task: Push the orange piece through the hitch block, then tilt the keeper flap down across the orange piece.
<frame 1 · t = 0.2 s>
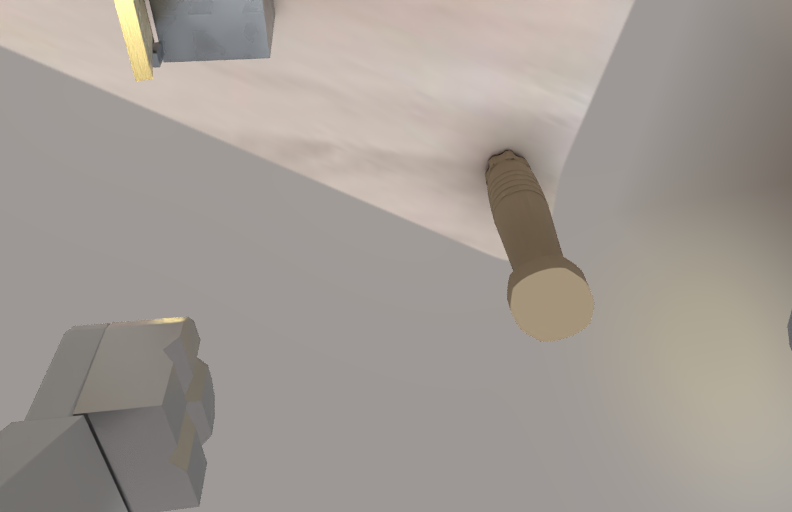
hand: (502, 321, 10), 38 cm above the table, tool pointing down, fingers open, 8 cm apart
keeper flap: (132, 6, 36), point 9 cm above the table, hinge at 100.0°
handle: (504, 165, 55), on the table
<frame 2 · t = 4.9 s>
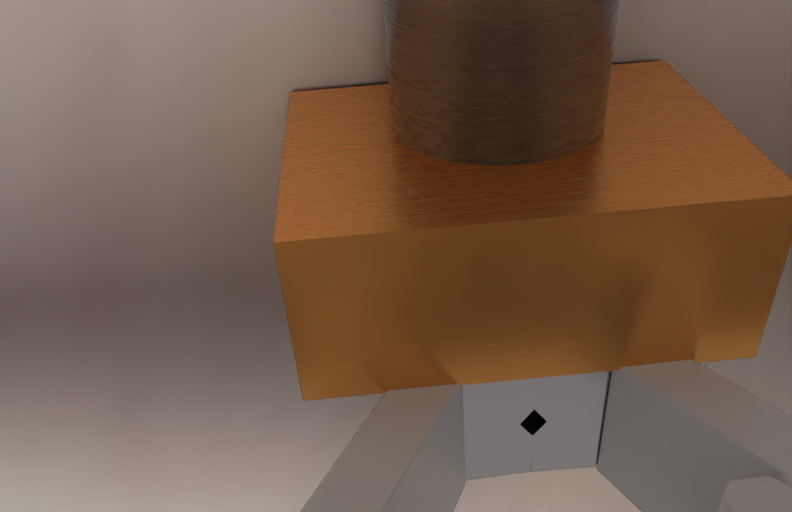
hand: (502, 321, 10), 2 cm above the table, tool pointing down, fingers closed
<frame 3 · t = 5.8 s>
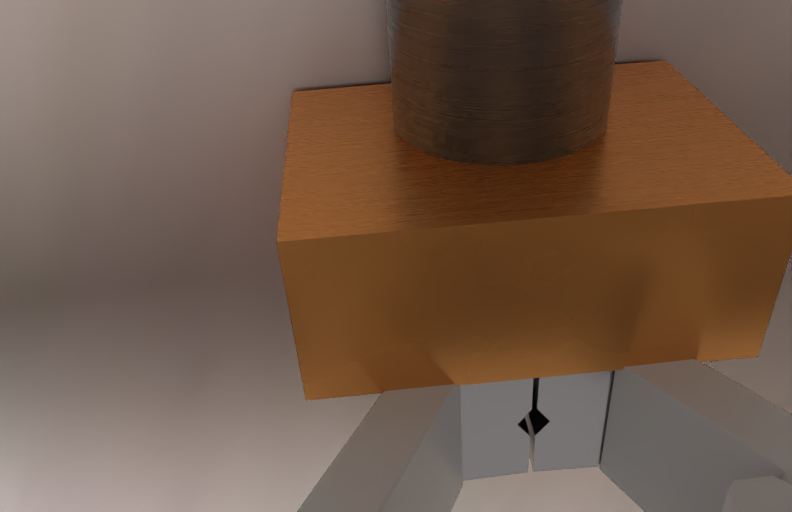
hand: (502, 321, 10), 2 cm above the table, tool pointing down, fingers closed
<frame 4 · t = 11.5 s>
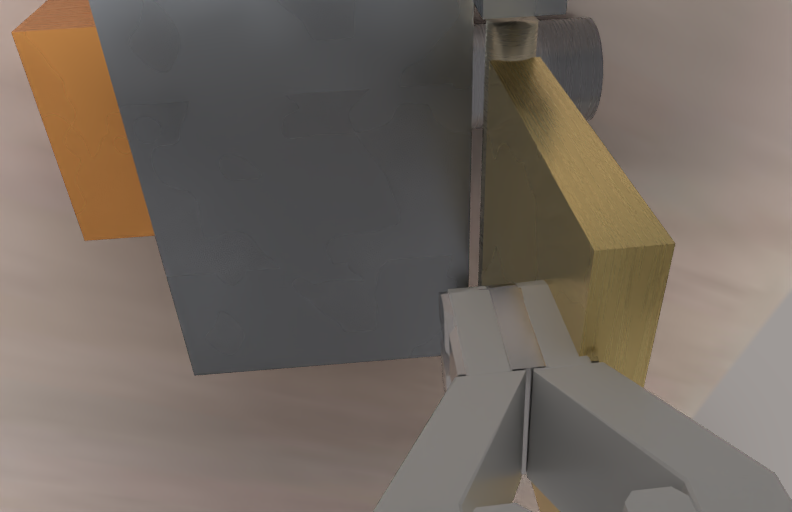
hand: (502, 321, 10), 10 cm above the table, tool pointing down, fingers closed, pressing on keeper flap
keeper flap: (539, 273, 11), point 9 cm above the table, hinge at 88.8°, touching gripper
hitch block: (315, 68, 18), on the table
orange piece: (337, 94, 17), point 2 cm above the table, slide at 12.0 cm
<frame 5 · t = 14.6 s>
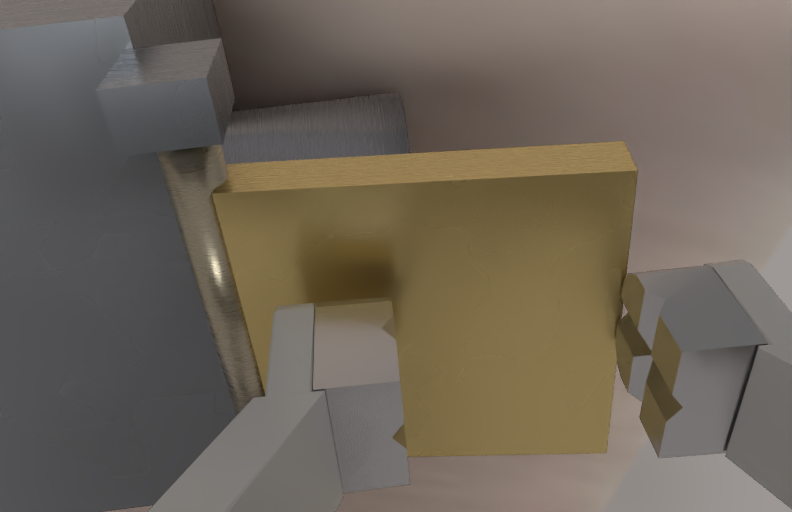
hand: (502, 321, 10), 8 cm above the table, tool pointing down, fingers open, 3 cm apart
keeper flap: (408, 320, 11), point 7 cm above the table, hinge at 7.7°, touching gripper
hitch block: (111, 158, 16), on the table
orange piece: (116, 194, 15), point 2 cm above the table, slide at 12.0 cm
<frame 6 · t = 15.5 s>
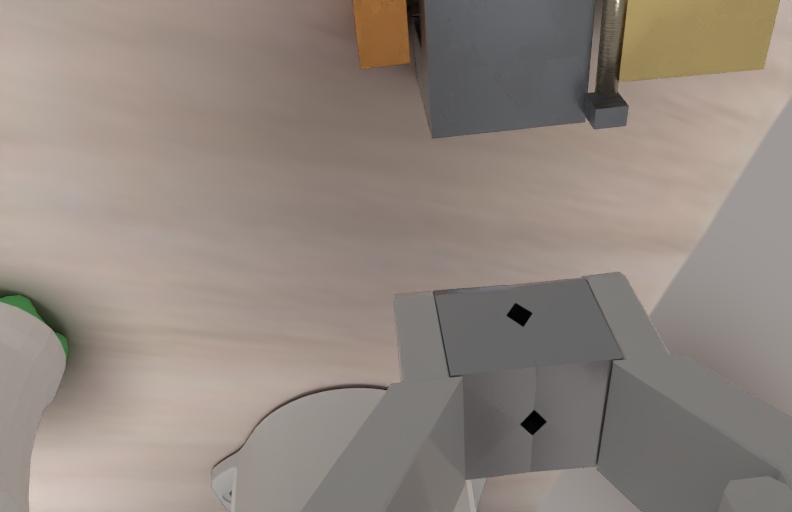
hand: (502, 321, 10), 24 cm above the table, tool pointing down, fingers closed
keeper flap: (688, 3, 25), point 7 cm above the table, hinge at 2.5°
cup: (0, 334, 40), on the table
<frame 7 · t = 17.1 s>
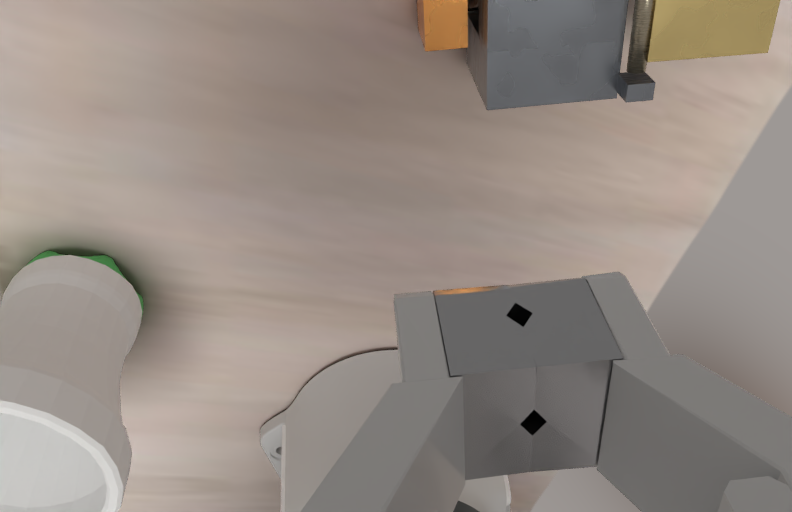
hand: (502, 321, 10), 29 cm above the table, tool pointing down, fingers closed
cup: (83, 292, 45), on the table
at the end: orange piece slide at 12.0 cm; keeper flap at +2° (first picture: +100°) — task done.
